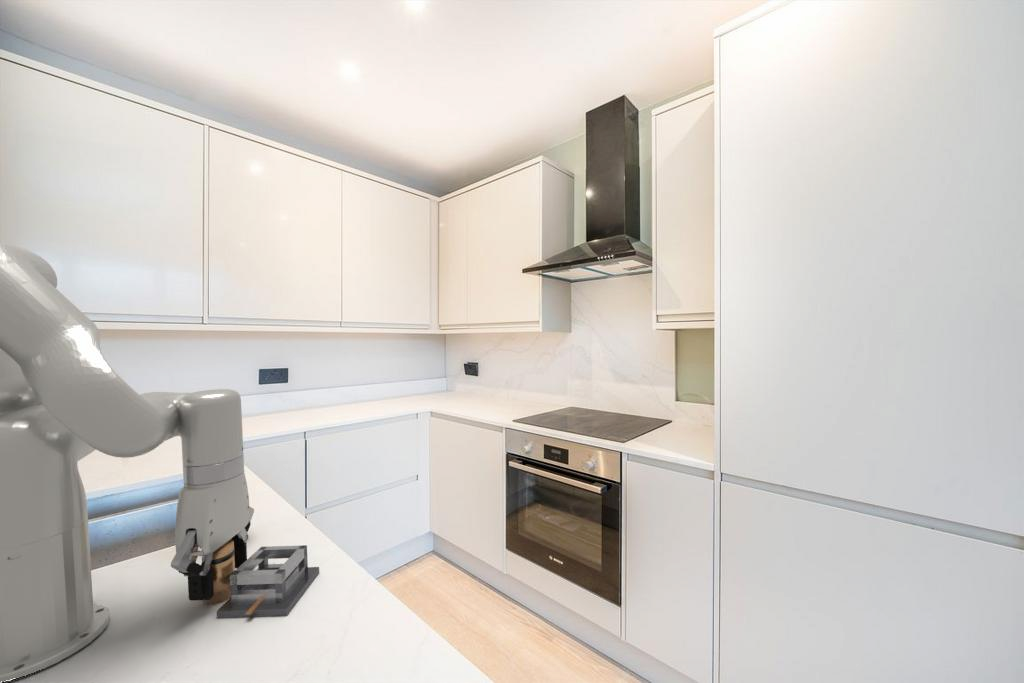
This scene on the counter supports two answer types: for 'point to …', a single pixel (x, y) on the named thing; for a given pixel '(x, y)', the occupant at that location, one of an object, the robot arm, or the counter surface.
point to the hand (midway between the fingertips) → (220, 581)
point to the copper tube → (222, 572)
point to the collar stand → (269, 583)
